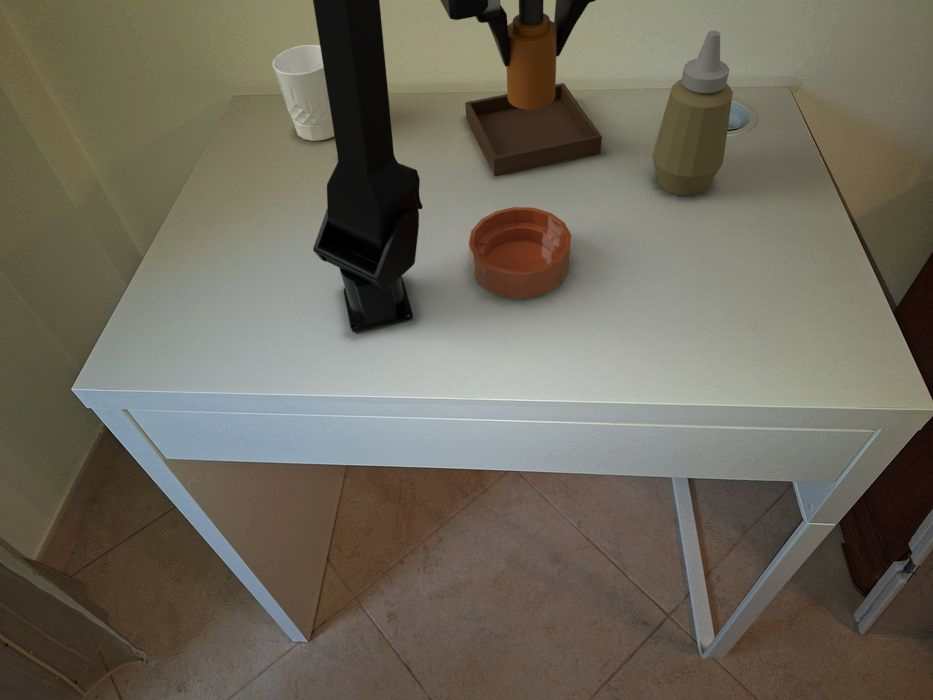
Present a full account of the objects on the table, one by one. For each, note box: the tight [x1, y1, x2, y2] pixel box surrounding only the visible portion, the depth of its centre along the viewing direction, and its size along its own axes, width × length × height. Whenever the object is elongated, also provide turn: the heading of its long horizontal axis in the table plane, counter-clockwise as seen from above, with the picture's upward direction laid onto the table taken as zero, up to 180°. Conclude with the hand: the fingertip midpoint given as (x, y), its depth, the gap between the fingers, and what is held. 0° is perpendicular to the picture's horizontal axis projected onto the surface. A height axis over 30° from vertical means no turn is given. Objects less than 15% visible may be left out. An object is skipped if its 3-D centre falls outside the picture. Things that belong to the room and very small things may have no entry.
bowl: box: [468, 206, 572, 299], centre depth 72 cm, size 11×11×4 cm
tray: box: [464, 82, 603, 177], centre depth 89 cm, size 14×14×2 cm
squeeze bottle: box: [652, 30, 734, 197], centre depth 75 cm, size 8×8×18 cm
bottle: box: [506, 0, 557, 110], centre depth 75 cm, size 6×6×12 cm
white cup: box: [272, 44, 335, 142], centre depth 91 cm, size 8×8×10 cm
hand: (531, 59), depth 76 cm, fingers closed on bottle, 5 cm apart
